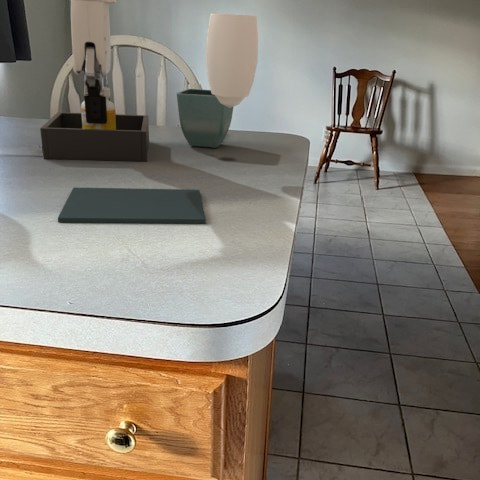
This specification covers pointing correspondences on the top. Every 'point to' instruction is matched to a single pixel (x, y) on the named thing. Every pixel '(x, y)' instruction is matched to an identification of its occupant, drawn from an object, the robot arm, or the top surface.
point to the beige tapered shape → (231, 56)
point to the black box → (95, 139)
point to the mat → (133, 206)
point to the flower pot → (203, 117)
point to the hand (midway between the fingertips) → (98, 118)
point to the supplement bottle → (110, 114)
